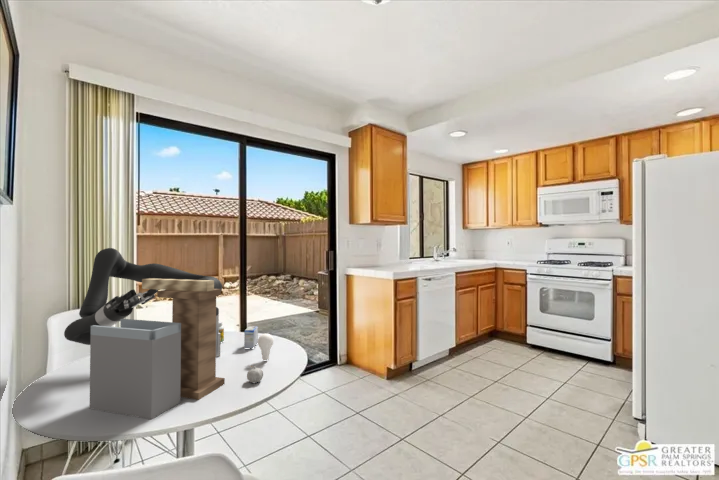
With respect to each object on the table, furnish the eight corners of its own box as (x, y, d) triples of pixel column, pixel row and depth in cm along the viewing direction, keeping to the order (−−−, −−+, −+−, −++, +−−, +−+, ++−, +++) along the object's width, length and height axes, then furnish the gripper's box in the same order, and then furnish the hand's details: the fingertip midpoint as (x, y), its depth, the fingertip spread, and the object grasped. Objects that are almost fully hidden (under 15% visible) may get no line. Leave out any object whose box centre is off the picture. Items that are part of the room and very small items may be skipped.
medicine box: (248, 344, 159) (248, 326, 159) (258, 344, 160) (258, 325, 160) (244, 349, 151) (244, 330, 152) (254, 349, 152) (254, 330, 152)
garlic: (244, 380, 117) (244, 365, 117) (259, 377, 120) (259, 362, 120) (250, 386, 112) (250, 370, 112) (265, 382, 115) (266, 367, 115)
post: (151, 392, 107) (152, 291, 107) (180, 378, 118) (181, 286, 119) (198, 399, 102) (199, 293, 103) (224, 384, 114) (225, 288, 114)
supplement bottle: (222, 340, 166) (222, 320, 167) (224, 342, 162) (225, 322, 162) (210, 342, 163) (210, 322, 164) (212, 344, 159) (213, 324, 159)
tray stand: (89, 408, 96) (90, 326, 97) (122, 393, 106) (123, 318, 106) (151, 419, 91) (152, 331, 91) (180, 402, 100) (181, 323, 101)
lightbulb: (276, 359, 138) (276, 332, 138) (267, 364, 132) (267, 336, 133) (263, 357, 140) (263, 331, 140) (254, 362, 134) (254, 334, 135)
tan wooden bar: (141, 288, 114) (142, 279, 114) (150, 287, 117) (150, 278, 117) (207, 291, 107) (207, 281, 107) (214, 290, 110) (214, 280, 110)
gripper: (89, 306, 113) (122, 282, 109) (128, 299, 127) (159, 278, 123) (97, 326, 112) (131, 303, 108) (136, 317, 125) (167, 296, 122)
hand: (145, 290), depth 116 cm, fingers open, 8 cm apart
